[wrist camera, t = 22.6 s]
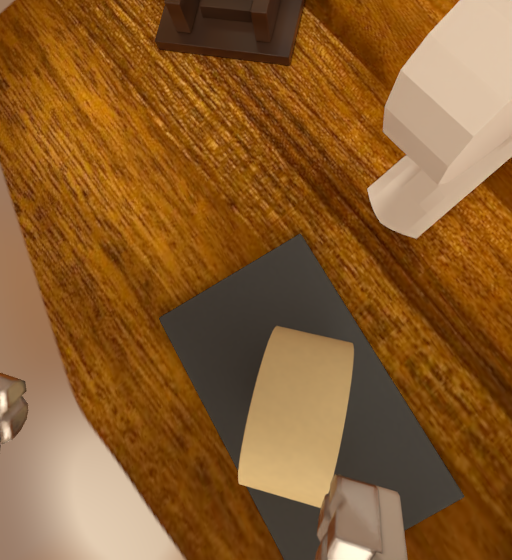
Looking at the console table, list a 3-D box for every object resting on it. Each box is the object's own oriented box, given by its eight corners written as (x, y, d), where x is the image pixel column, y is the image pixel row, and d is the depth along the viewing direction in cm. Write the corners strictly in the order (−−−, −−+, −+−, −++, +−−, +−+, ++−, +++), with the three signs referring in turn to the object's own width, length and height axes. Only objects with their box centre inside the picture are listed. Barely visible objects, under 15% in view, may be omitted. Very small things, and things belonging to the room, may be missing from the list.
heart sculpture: (508, 66, 31) (761, -299, 13) (562, 112, 30) (912, -217, 12) (346, 206, 31) (386, 25, 14) (394, 257, 30) (506, 132, 13)
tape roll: (320, 479, 28) (324, 539, 19) (251, 459, 29) (224, 509, 20) (348, 343, 29) (362, 342, 20) (280, 328, 30) (266, 321, 21)
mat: (161, 318, 32) (158, 318, 31) (300, 235, 31) (300, 233, 31) (299, 584, 28) (299, 589, 27) (461, 493, 27) (465, 497, 27)
